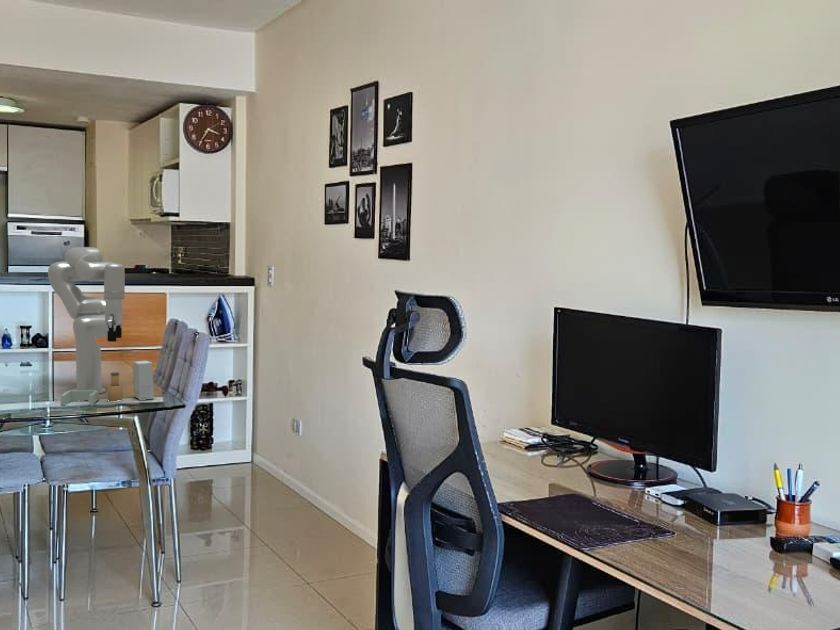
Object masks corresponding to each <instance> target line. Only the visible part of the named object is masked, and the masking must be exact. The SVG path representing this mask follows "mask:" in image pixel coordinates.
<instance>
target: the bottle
mask: <svg viewBox="0 0 840 630" xmlns="http://www.w3.org/2000/svg"><path fill="white" fill-rule="evenodd" d="M123 387H124V386H123V384H120V372H115V371H114V372H110V384H109V385H107V401H108V400H109V401H117V400H122V399H123V400H124V395H123V394H124V391H123V390H124V388H123Z"/></svg>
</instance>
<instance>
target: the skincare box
mask: <svg viewBox="0 0 840 630" xmlns="http://www.w3.org/2000/svg"><path fill="white" fill-rule="evenodd" d="M153 369H154V368H153V362H152V361H148V360H139V361H138V360H137V361H132V372H133V373H132V374H133V376H132V377H133V379H132V380H133V394H134V395H133V398H134V397H136V398H138V399H139V401H147V400H146V399H153V400H155V391H154V389H155V388H154V372H153V371H154V370H153ZM136 398H135V399H136ZM138 399H137V400H138Z"/></svg>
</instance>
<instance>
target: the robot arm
mask: <svg viewBox="0 0 840 630" xmlns="http://www.w3.org/2000/svg"><path fill="white" fill-rule="evenodd" d="M64 260H65V261H56V262H53V263H52V264H50V265H49V267H48V271H47V278H48V281H49V284H50V287H51V288H52V289H53V291H54V292H55V294H56V295H57V296H58V297H59V298H60V299H61V301H62V304H63V305H64V308H65V310H66V311H67V313H68V314H69V317H71V318H72V320H74V321H73V322H72V331H73V335H74V341H75V361H76V364H75V366H76V368H75V369H76V388H74V389H72V390H99V394H103V393H105V392H106V391H107V390H106V388H105V387H103V386H102V349H101V346H100V344H98V342H97V340H96V339H99V338H107V342H109V343H110V342H117V339H122V337H123V335H122V334H123V333H122V322H123V301H124V300H125V297H126V294H125V293H126V292H125V291H126V290H125V289H126V287H125V280H126V279H125V277H126V276H125V275H126V274H125V273H126V272H125V266H124V264H121V263H116V262H113V261H103V260H104V256H103V253H102V251H101V250H100V249H99V248H97V247H94V246H93V247H92V246H83V247H82V246H75V247H72V248H71V247H70V248H69V249H68V250H67V251H66V252H65V254H64ZM72 282H96V283H97V282H103V290H104V291H103V297H101V296H85V295H84V293H83V292H82V290H81V289H80V288H79V287H78V286H77V285H76V284H74V283H72Z"/></svg>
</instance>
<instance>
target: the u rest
mask: <svg viewBox="0 0 840 630" xmlns="http://www.w3.org/2000/svg"><path fill="white" fill-rule="evenodd" d="M98 399H99V400H100V393H99V390H73V389H72V390H66V391H65V392H64V393H63V394H61V395H60V403H61V405H60V406H61V407H65V406H67V405H68V404H69V403H71V402H78V401H77V400H89V401H88V405H91V406H90V407H93V406H94V405H95V404H96V403H97V402H96V401H97V400H98ZM70 401H71V402H70ZM95 402H96V403H95ZM67 403H68V404H67ZM94 403H95V404H94ZM66 404H67V405H66ZM93 404H94V405H93Z"/></svg>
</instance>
